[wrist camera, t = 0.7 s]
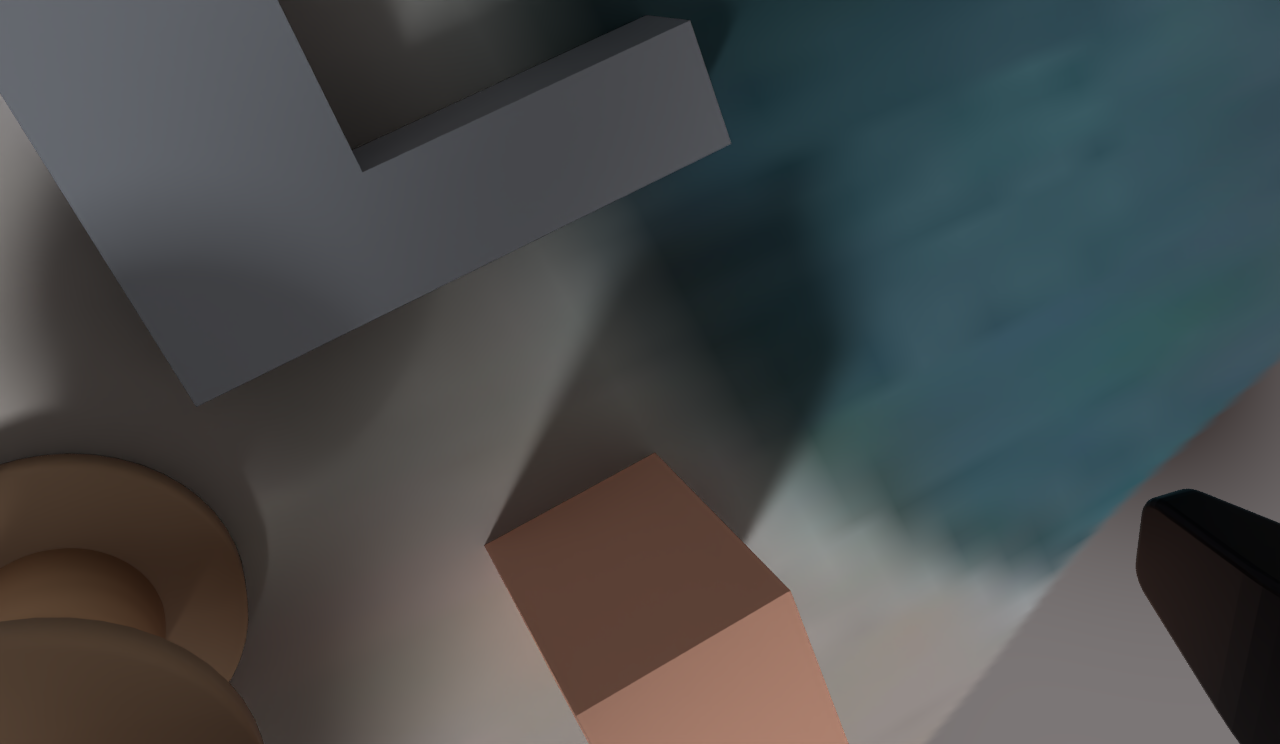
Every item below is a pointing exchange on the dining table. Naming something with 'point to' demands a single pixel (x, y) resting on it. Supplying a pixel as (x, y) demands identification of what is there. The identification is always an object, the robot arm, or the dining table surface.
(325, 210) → the notched board
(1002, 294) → the dining table surface
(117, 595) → the door knob
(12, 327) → the dining table surface
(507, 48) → the dining table surface
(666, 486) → the copper brown block
